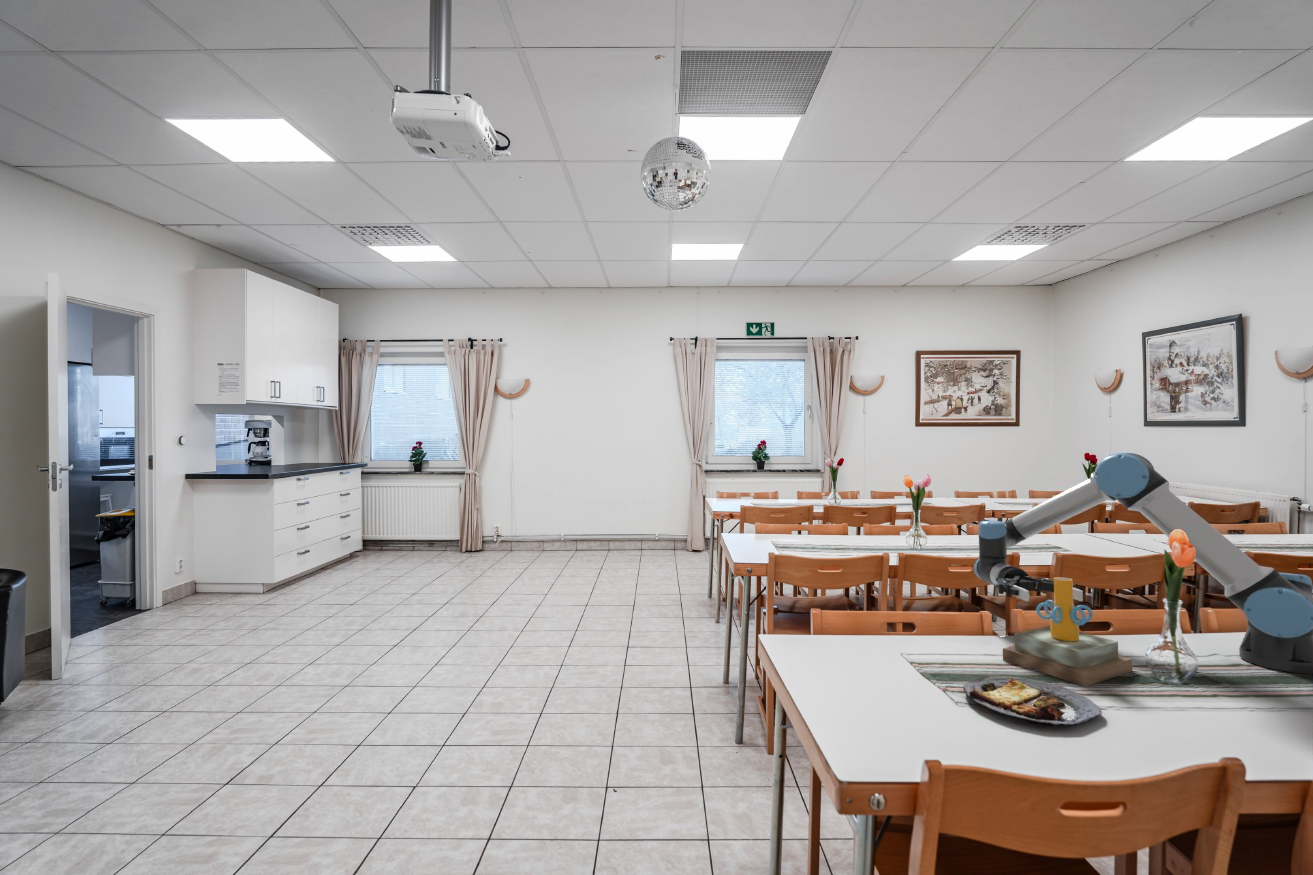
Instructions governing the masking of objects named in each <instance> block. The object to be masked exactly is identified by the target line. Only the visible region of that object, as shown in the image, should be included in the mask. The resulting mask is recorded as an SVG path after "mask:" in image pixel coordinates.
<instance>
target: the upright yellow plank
mask: <svg viewBox="0 0 1313 875" xmlns="http://www.w3.org/2000/svg"><path fill="white" fill-rule="evenodd" d="M1053 581H1054V592H1053V596H1054V597H1053V600H1051V599H1046V600H1045V601H1044V602H1041V603H1038V605H1037V606H1036V608H1035V612H1036V614H1037V616H1038V617H1039V618H1040V619H1042V620H1050V621H1049V622H1050V623H1049V624H1050V625H1049V626H1050V630H1051V637H1053V638H1055V639H1058V640H1062V641H1078V640H1079V632H1080V626H1084V625H1085V624H1086V623H1088V622H1090V621H1091V620H1092V619H1093V617H1094V616H1093V615H1094V612H1093V610H1092V609H1091V608H1090V607H1089V606H1087V605H1084V604H1079V605H1077V606H1075V603H1074V599H1073V584H1074V583H1073V582H1074V581H1073V578H1069V577H1061V576H1058V577H1057V576H1056V577H1053ZM1042 607H1043V610H1044V612H1045V613H1046V615H1043V614H1042V613H1041V611H1040V610H1041V608H1042ZM1048 608H1050V609H1051V612H1050V611H1049V609H1048ZM1084 610H1086V611H1087V612H1088V617H1087V615H1086V613H1085V611H1084ZM1077 612H1078V613H1080V614H1081V615H1082V616H1081V617H1082V618H1081V617H1079V616H1078V614H1077Z"/></svg>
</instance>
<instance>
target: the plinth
mask: <svg viewBox="0 0 1313 875" xmlns="http://www.w3.org/2000/svg"><path fill="white" fill-rule="evenodd" d="M1013 635H1014V645H1010V646H1007V647H1003V648H1002V661H1004V662H1009V663H1011V664H1015V665H1018V666H1021V667H1024V668H1027V669H1030V670H1033V671H1036V672H1039V673H1043V674H1046V675H1049V676H1053V677H1055V678H1059V679H1061V680H1065V681H1068V682H1072V683H1075V684H1076V685H1077V684H1078V685H1079V686H1080V685H1081V686H1084V687H1089V686H1093V685H1095V684H1097V683H1101V682H1104V681H1107V680H1110V679H1113V678H1116V677H1119V676H1121V675H1124V674H1127V673H1128V674H1129V673H1131V672H1133V658H1130V657H1127V656H1123V655H1119V641H1118V640H1113V639H1110V638H1105V637H1102V636H1097V635H1094V634H1093V635H1092V634H1088V633H1084V632H1080V631H1079V640H1078V641H1062V640H1058V639H1055V638H1053V637H1051V630H1050V625H1046V626H1042V627H1041V626H1040V627H1037V628H1035V629H1029V630H1025V631H1022V632H1018V633H1017V632H1016V633H1014V634H1013Z"/></svg>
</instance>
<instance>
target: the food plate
mask: <svg viewBox="0 0 1313 875" xmlns="http://www.w3.org/2000/svg"><path fill="white" fill-rule="evenodd" d="M962 688H963V689H962V690H963V691H964V693H965V695H966V698H969V699H970V700H971V701H972V702H973V703H976V704H978V705H980V706H983V707H984V708H987V709H989V710H992V711H994V712H996V713H998V714H1000V715H1001V714H1002V715H1004V716H1008V717H1011V718H1016V719H1020V720H1021V719H1022V720H1025V721H1030V722H1033V723H1036V724H1040V723H1041V724H1045V725H1046V724H1048V725H1049V727H1050V726H1051V725H1052V726H1059V725H1060V724H1061V725H1062V724H1063V725H1064V726H1065V727H1066V726H1067V727H1068V726H1072V725H1075V724H1076V725H1080V724H1081V723H1084V722H1088V721H1089V720H1091V719H1094V718H1095V717H1096V716H1098V715H1100V716H1101V715H1102V714H1103V711H1102V709H1101V708H1100V707H1099V706H1098V705H1097V704H1096V703H1095V702H1093V701H1092V700H1091V699H1090V698H1088V697H1086V696H1084V695H1082V694H1081V693H1079V692H1076V691H1075V690H1072V689H1071V688H1067V687H1065V686H1060V685H1056V684H1052V683H1051V682H1050V683H1049V682H1045V681H1040V680H1034V679H1030V678H1024V677H1020V676H1019V677H1018V676H1008V675H1007V676H1005V675H1004V676H1003V675H1002V676H990V675H988V676H982V677H978V678H976V679H972V680H971V681H968V682H967V683H965V684H964V685H963V687H962ZM1037 698H1038V699H1037ZM1034 700H1035V701H1034ZM1033 702H1034V703H1033ZM1032 704H1033V705H1032ZM1063 706H1068V707H1069V706H1070V707H1071V708H1070V707H1069V708H1070V709H1072V708H1073V709H1072V711H1073V712H1074V713H1075V714H1076V716H1074V715H1075V714H1074V715H1073V717H1074V718H1072V717H1071V716H1072V715H1070V716H1069V718H1071V719H1072V720H1071V719H1070V720H1067V719H1068V717H1067V718H1063V717H1064V716H1062V715H1065V713H1067V712H1066V711H1063V710H1061V708H1063ZM1059 708H1060V709H1059Z"/></svg>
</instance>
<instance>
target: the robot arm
mask: <svg viewBox="0 0 1313 875" xmlns="http://www.w3.org/2000/svg"><path fill="white" fill-rule="evenodd" d="M1107 501H1111V502H1115V501H1118V502H1119V503H1120V504H1121V505H1122V506H1123V507H1124V508H1125V509H1127V510H1128V511H1134V512H1139V513H1141V515H1142V516H1144V517H1145V518H1146V519H1147V520H1148V521H1149V522H1151V524H1153V525H1154V526H1155V527H1156V528H1158V529H1159V530H1160V531H1161V532H1162V533H1163V534H1164V535H1165V536H1166V537H1168V538H1169V535H1170V533H1171V532H1172V531H1173V530H1175V529H1181V530H1183V531H1184V532H1185V533H1186V535H1187V537H1188V539H1189V543H1190V544H1192V546H1194V547H1195V549H1196V556H1195V560H1194V561H1195V562H1196V563H1198V565H1200V567H1202V568H1203V569H1204V571H1206V572H1207V573H1209V574H1210V575H1211V576H1212V577H1213V578H1214V579H1216V581H1218V582H1219V583H1220V584H1221V585H1222V586H1223V587H1224V596H1225V597H1226V598H1227V599H1228V600H1229V601H1230V602H1231V603H1233V605H1235V606H1236V607H1237V608H1238V609H1239V610H1240V611H1241V612H1242V613H1244V615H1245V617H1246V619H1247V629H1246V632H1245V634H1244V637H1243V638H1242V640H1241V643H1240V645H1239V648H1238V649H1239V651H1238V652H1239V655H1238V656H1239V658H1240V657H1241V658H1240V659H1241V660H1243V659H1244V660H1243V661H1245V662H1247V661H1248V663H1250V664H1252V663H1254V664H1253V665H1255V664H1256V665H1257V666H1260V667H1263V668H1268V669H1271V670H1276V671H1282V672H1288V673H1293V674H1294V673H1295V674H1305V675H1313V582H1312V578H1311V577H1310V576H1308V575H1306V574H1297V573H1296V574H1295V573H1288V572H1278V571H1277V570H1276V569H1275V568H1273V567H1269V566H1262V565H1259V564H1258V563H1256V562H1255V561H1254V560H1253V559H1252V558H1251V557H1250V556H1248V555H1247V554H1246V553H1245V552H1243V551H1242V550H1241V549H1240V548H1239V547H1237V546H1236V544H1234V543H1233V542H1232V541H1230V540H1229V539H1228V538H1227V537H1225V536H1224V535H1223V534H1222V533H1221V532H1220V531H1218V530H1217V529H1216V528H1215V527H1213V526H1212V525H1211V524H1210V523H1209V522H1208V521H1206V520H1205V519H1204V518H1203V517H1202V516H1201V515H1199V514H1198V513H1197V512H1195V511H1194V510H1193V509H1192V508H1191V507H1190V506H1189V505H1188V504H1186V503H1185V502H1183V501H1182V500H1181V499H1180V497H1178V496H1177V495H1176V494H1174V493H1173V492H1171V491H1170V482H1169V481H1168V480H1167V479H1166V478H1165V477H1164V476H1162V475H1161V474H1160V473H1159V472H1158V471H1156V470H1155V467H1154V465H1153V463H1151V461H1150V460H1148V459H1147V458H1146V457H1144V456H1142V455H1140V454H1137V453H1133V452H1132V453H1131V452H1118V453H1112V454H1110V455H1108V456H1106V457H1104V458H1103V459H1102V460H1101V461H1100V462H1099V463H1098V464H1097V466H1096V467H1095V470H1094V471H1093V472H1092V473H1091V474H1090V477H1089V478H1088V479H1087V478H1086V479H1085V480H1084V481H1082V482H1080V483H1077V484H1076V485H1074V486H1072V487H1070V488H1067V489H1066V490H1064V491H1062V492H1060V493H1058V494H1057V495H1054V496H1053V497H1051V498H1049V499H1047V500H1045V501H1042V502H1040V503H1039V504H1036V505H1034V507H1031V508H1028V510H1026V511H1024V512H1022V513H1021V512H1020V514H1018V515H1015V516H1014V517H1012V518H1010V519H1008V520H1005V521H1004V522H1003V521H1001V520H981V521H980V522H979V523H978V531H977V534H978V550H979V551H978V559H977V560H976V561H975V563H974V565H973V571H974V574H975V575H976V576H977V577H978V579H980V580H981V581H984V583H987V584H991V585H993V586H995V587H996V588H997V589H998V594H999V595H1004V594H1005V593H1006V598H1012V596H1013V597H1015V598H1018V599H1020V600H1023V601H1024V602H1029V601H1030V592H1031V591H1032V592H1037V593H1038V592H1039V593H1041V592H1043V591H1044V592H1049V593H1054V579H1053V580H1052V579H1048V578H1045V577H1040V578H1038V577H1037V578H1035V577H1033V576H1029V574H1028V573H1027V572H1026V571H1025V570H1023V569H1022V568H1019V567H1016V566H1014V565H1011V564H1008V563H1007V561H1008V555H1007V554H1008V553H1007V551H1008V548H1010V547H1014V546H1016V545H1018V544H1019V543H1021V542H1023V541H1025V540H1027V539H1030V538H1031V537H1033V536H1035V535H1037V534H1039V533H1041V532H1043V531H1045V530H1047V529H1048V530H1049V529H1050V528H1053V527H1054V526H1056V525H1058V524H1060V523H1063V522H1064V521H1067V520H1069V519H1071V518H1072V517H1075V516H1077V515H1079V514H1081V513H1083V512H1086V511H1088V510H1090V509H1092V508H1094V507H1095V506H1098V505H1100V504H1102V503H1104V502H1107ZM1083 592H1084V591H1083V590H1081V589H1079V588H1077V587H1076V584H1075V583H1073V600H1076V601H1078V602H1084V594H1083ZM1256 665H1255V666H1256Z"/></svg>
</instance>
